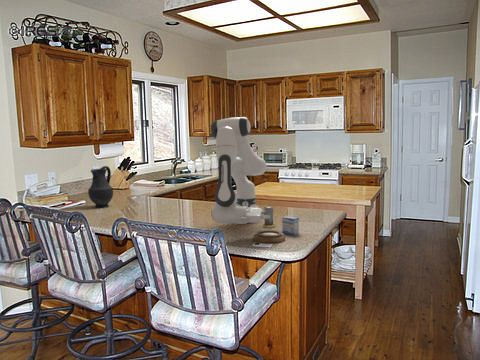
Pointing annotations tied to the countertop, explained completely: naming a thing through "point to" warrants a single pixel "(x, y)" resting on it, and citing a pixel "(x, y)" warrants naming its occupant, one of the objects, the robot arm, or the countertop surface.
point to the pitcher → (101, 187)
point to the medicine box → (290, 225)
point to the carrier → (269, 236)
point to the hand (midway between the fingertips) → (270, 215)
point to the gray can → (269, 220)
